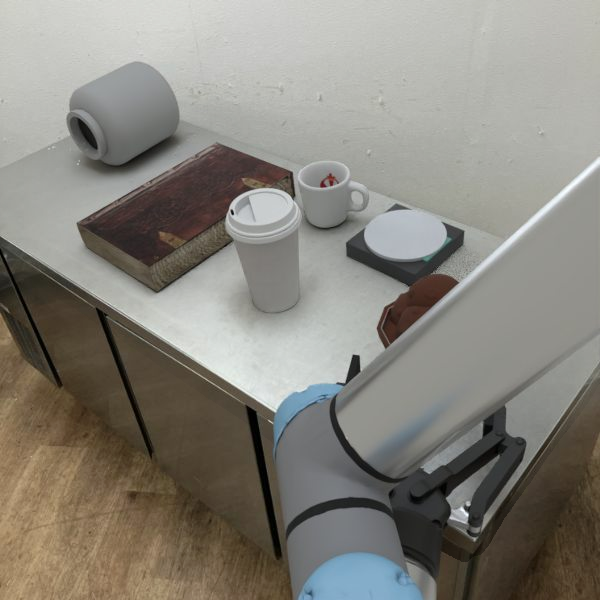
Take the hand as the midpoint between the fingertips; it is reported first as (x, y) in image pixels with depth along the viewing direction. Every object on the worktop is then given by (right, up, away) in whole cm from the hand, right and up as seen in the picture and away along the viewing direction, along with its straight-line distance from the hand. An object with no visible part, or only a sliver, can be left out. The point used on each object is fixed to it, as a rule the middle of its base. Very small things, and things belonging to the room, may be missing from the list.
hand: (422, 371), depth 66 cm
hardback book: (-30, +20, +38) cm, 52 cm away
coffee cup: (-16, +8, +23) cm, 29 cm away
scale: (+3, +15, +27) cm, 31 cm away
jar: (-45, +33, +54) cm, 78 cm away
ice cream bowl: (+2, -3, +9) cm, 10 cm away
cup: (-7, +20, +35) cm, 40 cm away
